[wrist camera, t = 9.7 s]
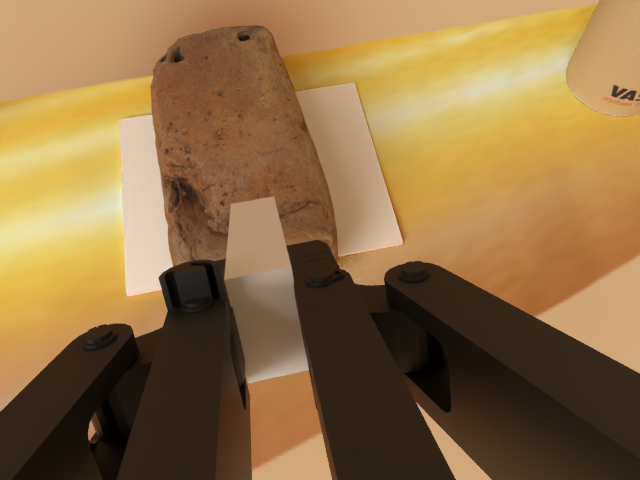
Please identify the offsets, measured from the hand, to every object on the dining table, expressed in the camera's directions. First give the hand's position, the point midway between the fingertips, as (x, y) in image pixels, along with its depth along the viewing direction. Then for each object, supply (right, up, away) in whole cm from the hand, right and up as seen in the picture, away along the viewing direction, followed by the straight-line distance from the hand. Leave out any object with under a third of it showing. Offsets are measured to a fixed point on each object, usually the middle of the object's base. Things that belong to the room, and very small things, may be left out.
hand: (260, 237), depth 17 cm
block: (-1, -3, +13) cm, 14 cm away
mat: (-3, +5, +22) cm, 22 cm away
